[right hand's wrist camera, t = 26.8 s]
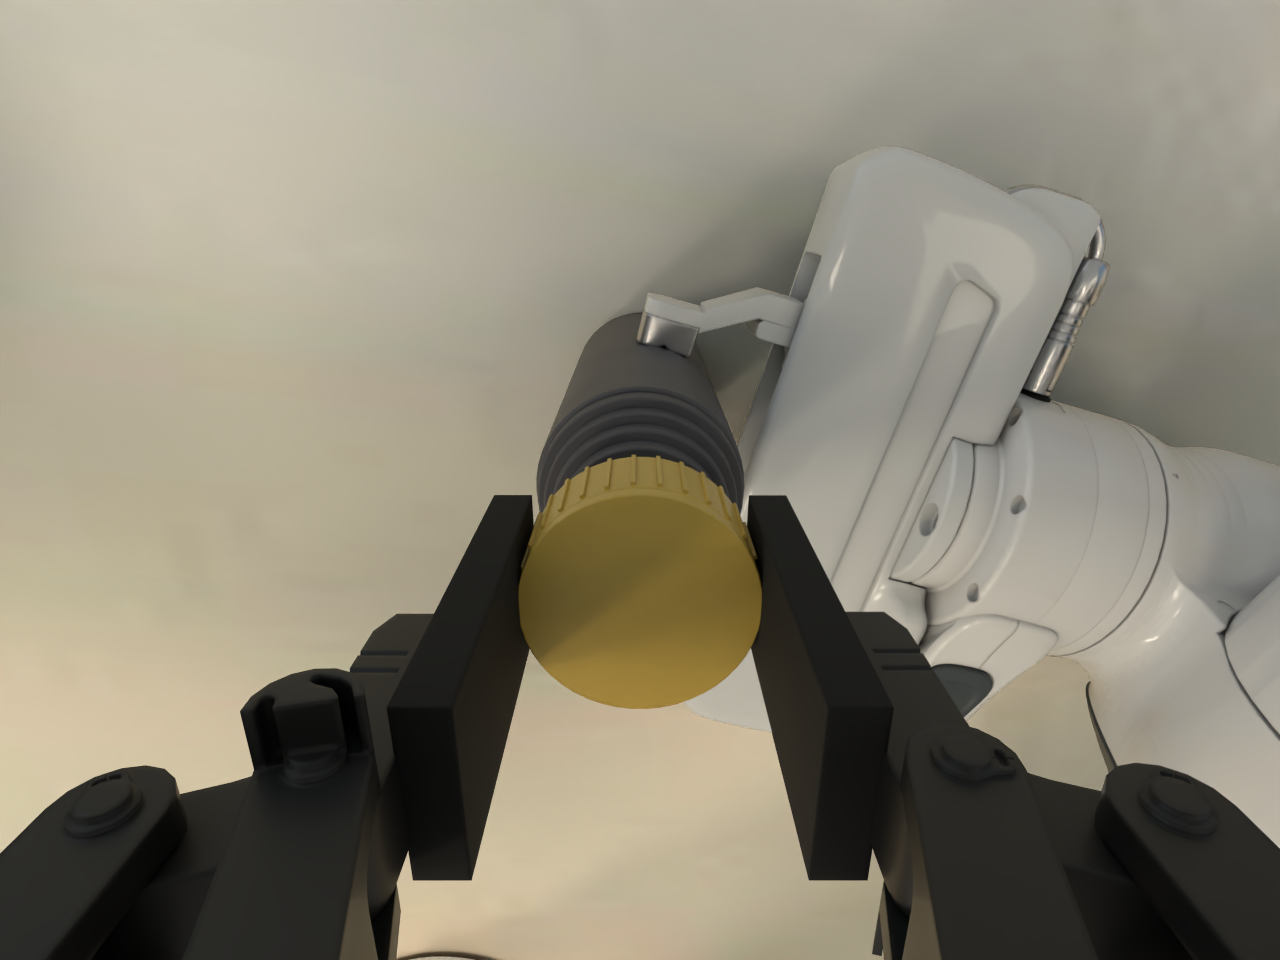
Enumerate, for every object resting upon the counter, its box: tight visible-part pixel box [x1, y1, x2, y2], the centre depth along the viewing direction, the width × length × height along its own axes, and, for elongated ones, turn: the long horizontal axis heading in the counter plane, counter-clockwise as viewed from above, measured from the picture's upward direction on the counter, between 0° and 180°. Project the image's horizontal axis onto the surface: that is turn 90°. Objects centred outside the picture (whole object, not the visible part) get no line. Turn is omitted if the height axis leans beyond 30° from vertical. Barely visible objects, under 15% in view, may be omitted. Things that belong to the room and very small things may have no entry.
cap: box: [518, 455, 762, 709], centre depth 14 cm, size 4×4×2 cm
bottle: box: [537, 313, 745, 514], centre depth 22 cm, size 5×5×18 cm
